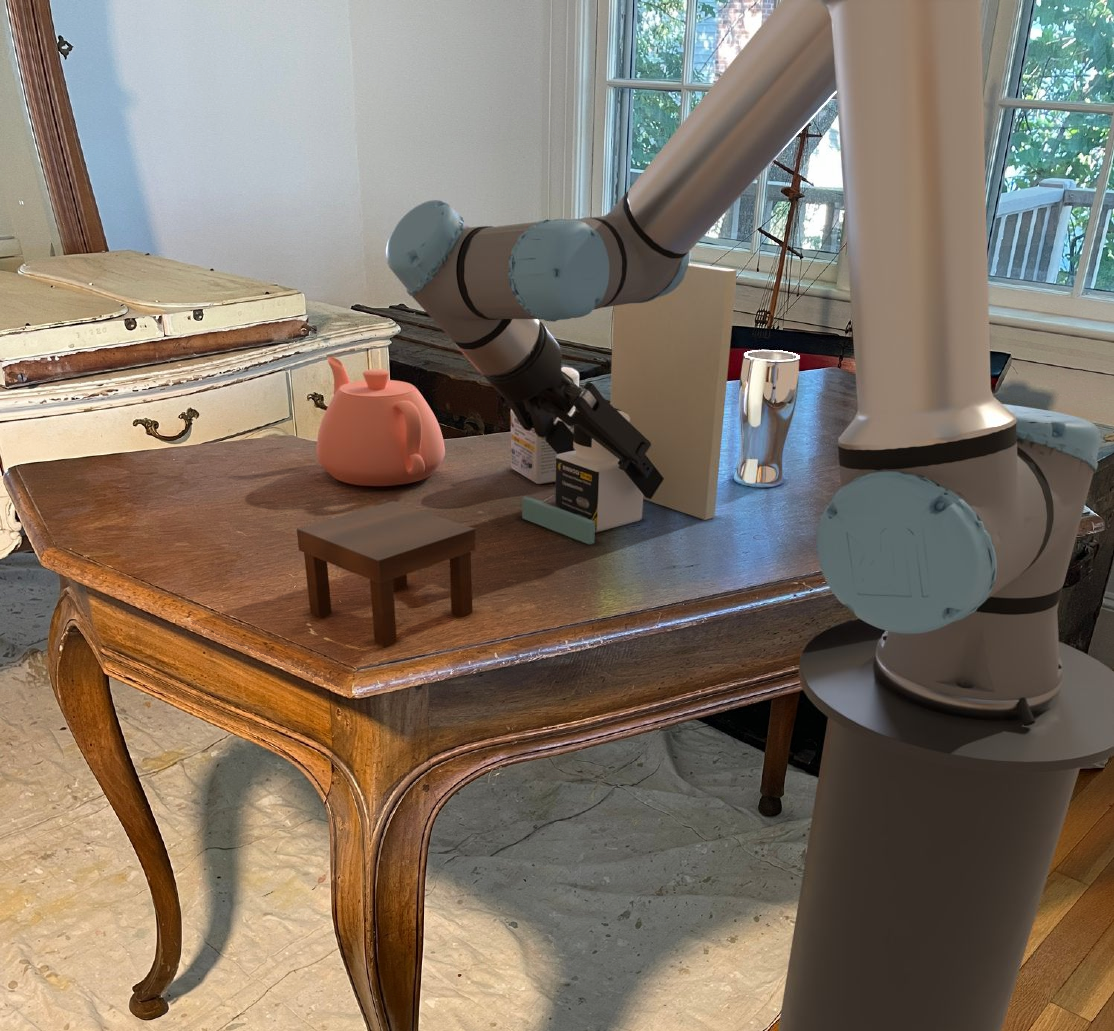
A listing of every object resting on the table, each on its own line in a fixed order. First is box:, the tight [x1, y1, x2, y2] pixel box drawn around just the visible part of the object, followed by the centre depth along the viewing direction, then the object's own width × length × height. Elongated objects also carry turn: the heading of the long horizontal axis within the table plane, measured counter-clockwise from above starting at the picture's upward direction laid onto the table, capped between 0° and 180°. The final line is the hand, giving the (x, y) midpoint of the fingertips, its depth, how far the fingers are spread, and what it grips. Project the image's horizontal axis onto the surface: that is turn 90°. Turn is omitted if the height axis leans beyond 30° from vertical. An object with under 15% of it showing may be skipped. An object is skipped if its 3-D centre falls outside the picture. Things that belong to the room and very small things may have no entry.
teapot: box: [316, 356, 446, 487], centre depth 135 cm, size 22×16×12 cm
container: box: [510, 363, 580, 485], centre depth 135 cm, size 8×8×13 cm
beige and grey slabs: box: [521, 262, 738, 545], centre depth 118 cm, size 16×17×26 cm
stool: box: [296, 500, 477, 648], centre depth 98 cm, size 11×11×8 cm
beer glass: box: [733, 349, 801, 489], centre depth 134 cm, size 7×7×15 cm
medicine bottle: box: [554, 408, 644, 533], centre depth 121 cm, size 7×7×12 cm
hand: (618, 476), depth 123 cm, fingers open, 11 cm apart
